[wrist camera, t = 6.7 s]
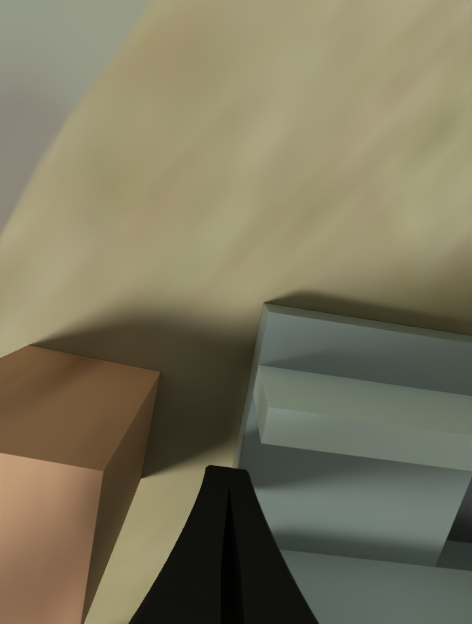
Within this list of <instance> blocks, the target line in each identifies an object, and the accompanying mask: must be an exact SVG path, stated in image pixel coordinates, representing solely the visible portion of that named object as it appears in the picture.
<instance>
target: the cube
mask: <svg viewBox="0 0 472 624" xmlns="http://www.w3.org/2000/svg"><path fill="white" fill-rule="evenodd" d="M160 373H161V372H158V371H153V370H148V369H143V368H139V367H134V366H129V365H124V364H119V363H114V362H109V361H104V360H99V359H94V358H89V357H85V356H80V355H75V354H70V353H65V352H60V351H55V350H50V349H45V348H40V347H35V346H31V345H28V346H25V347H23V348H21V349H19V350H17V351H15V352H13V353H11V354H8V355H6V356H4V357H2V358H0V624H84V622H85V619H86V617H87V614H88V612H89V609H90V607H91V604H92V602H93V599H94V596H95V594H96V591H97V589H98V586H99V584H100V581H101V579H102V576H103V574H104V571H105V569H106V566H107V564H108V561H109V558H110V556H111V553H112V551H113V548H114V546H115V543H116V541H117V538H118V536H119V533H120V531H121V528H122V525H123V523H124V520H125V518H126V515H127V513H128V510H129V508H130V505H131V503H132V500H133V498H134V495H135V492H136V490H137V487H138V485H139V482H140V480H141V475H142V470H143V465H144V459H145V454H146V448H147V443H148V438H149V432H150V427H151V421H152V416H153V411H154V405H155V400H156V394H157V389H158V384H159V378H160Z"/></svg>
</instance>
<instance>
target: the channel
mask: <svg viewBox="0 0 472 624" xmlns="http://www.w3.org/2000/svg"><path fill="white" fill-rule="evenodd" d="M233 468H237V469H245V470H247V471H248V472H249V475H250V478H251V481H252V484H253V487H254V490H255V493H256V496H257V498H258V501H259V504H260V506H261V509H262V511H263V514H264V516H265V518H266V521H267V523H268V525H269V528H270V530H271V532H272V534H273V537H274V539H275V541H276V543H277V545H278V547H279V550H280V552H281V554H282V556H283V558H284V560H285V562H286V564H287V566H288V568H289V570H290V572H291V574H292V576H293V578H294V580H295V581H296V583H297V585H298V587H299V589H300V591H301V593H302V594H303V596H304V598H305V600H306V602H307V603H308V605H309V607H310V609H311V610H312V612H313V614H314V616H315V617H316V619H317V621H318V622H319V624H472V336H470V335H463V334H457V333H451V332H444V331H438V330H432V329H425V328H419V327H413V326H406V325H400V324H394V323H387V322H381V321H375V320H368V319H362V318H356V317H349V316H343V315H337V314H330V313H324V312H318V311H311V310H305V309H299V308H292V307H286V306H280V305H273V304H267V303H263V308H262V313H261V318H260V324H259V329H258V334H257V340H256V345H255V350H254V356H253V361H252V367H251V372H250V377H249V383H248V388H247V393H246V399H245V404H244V409H243V415H242V420H241V425H240V431H239V436H238V441H237V447H236V452H235V457H234V463H233Z"/></svg>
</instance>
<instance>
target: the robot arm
mask: <svg viewBox="0 0 472 624" xmlns="http://www.w3.org/2000/svg"><path fill="white" fill-rule="evenodd" d="M129 624H319V622H318V621H317V619H316V617H315V616H314V614H313V612H312V610H311V609H310V607H309V605H308V603H307V602H306V600H305V598H304V596H303V594H302V593H301V591H300V589H299V587H298V585H297V583H296V581H295V580H294V578H293V576H292V574H291V572H290V570H289V568H288V566H287V564H286V562H285V560H284V558H283V556H282V554H281V552H280V550H279V547H278V545H277V543H276V541H275V539H274V537H273V534H272V532H271V530H270V528H269V525H268V523H267V521H266V518H265V516H264V514H263V511H262V509H261V506H260V504H259V501H258V498H257V496H256V493H255V490H254V487H253V484H252V481H251V478H250V475H249V472H248V471H247V470H245V469H237V468H230V467H222V466H214V465H209V466H207V467H206V469H205V475H204V478H203V482H202V485H201V488H200V491H199V494H198V496H197V499H196V501H195V504H194V506H193V508H192V510H191V513H190V515H189V517H188V519H187V522H186V524H185V526H184V528H183V530H182V532H181V534H180V536H179V538H178V540H177V542H176V544H175V546H174V548H173V549H172V551H171V553H170V555H169V557H168V559H167V561H166V563H165V564H164V566H163V568H162V570H161V571H160V573H159V575H158V577H157V578H156V580H155V582H154V583H153V585H152V587H151V588H150V590H149V592H148V593H147V595H146V597H145V598H144V600H143V602H142V603H141V605H140V606H139V608H138V610H137V611H136V613H135V614H134V616H133V617H132V619H131V620H130V622H129Z"/></svg>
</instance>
